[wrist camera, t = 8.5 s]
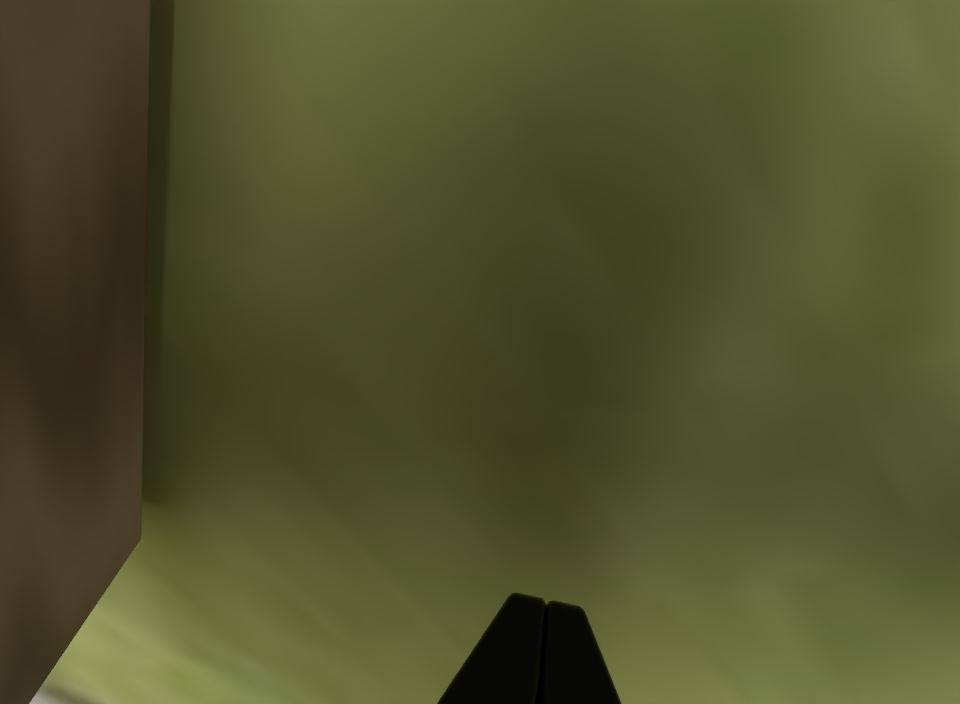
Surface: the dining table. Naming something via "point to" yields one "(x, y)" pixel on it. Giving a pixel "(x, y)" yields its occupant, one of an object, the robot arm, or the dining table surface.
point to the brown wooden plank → (69, 317)
